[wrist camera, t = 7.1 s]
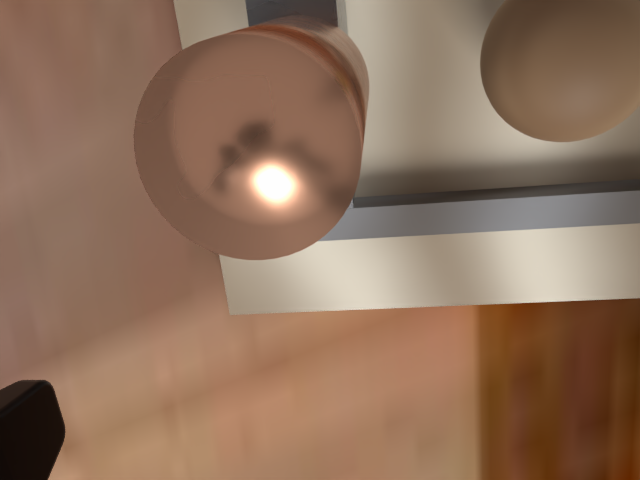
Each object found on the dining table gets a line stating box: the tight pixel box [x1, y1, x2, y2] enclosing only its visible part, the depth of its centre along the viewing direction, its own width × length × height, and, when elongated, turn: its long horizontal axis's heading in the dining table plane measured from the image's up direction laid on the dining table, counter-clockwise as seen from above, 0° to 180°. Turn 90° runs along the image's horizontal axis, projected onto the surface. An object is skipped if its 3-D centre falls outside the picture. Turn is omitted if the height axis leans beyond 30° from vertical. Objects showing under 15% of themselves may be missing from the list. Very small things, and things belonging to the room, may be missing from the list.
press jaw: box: [134, 0, 369, 260], centre depth 13 cm, size 3×6×10 cm, turn 6°
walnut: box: [480, 0, 640, 142], centre depth 14 cm, size 4×4×4 cm
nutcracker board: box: [174, 0, 640, 315], centre depth 15 cm, size 16×16×6 cm
